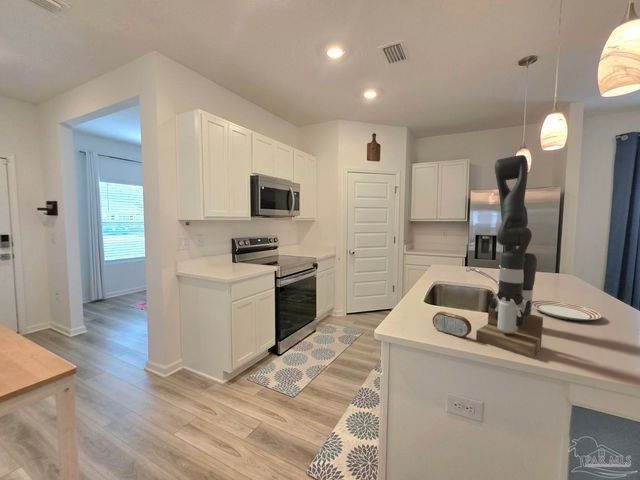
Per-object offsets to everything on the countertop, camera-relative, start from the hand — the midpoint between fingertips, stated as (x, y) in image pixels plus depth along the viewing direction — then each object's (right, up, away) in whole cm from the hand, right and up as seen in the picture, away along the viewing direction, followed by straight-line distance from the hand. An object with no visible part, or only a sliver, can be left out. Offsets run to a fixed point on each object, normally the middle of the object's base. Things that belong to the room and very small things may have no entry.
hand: (508, 323), depth 107 cm
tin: (-17, -8, +10) cm, 22 cm away
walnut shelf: (+1, -8, +1) cm, 9 cm away
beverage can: (0, -3, 0) cm, 3 cm away
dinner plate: (+52, -6, +36) cm, 64 cm away
